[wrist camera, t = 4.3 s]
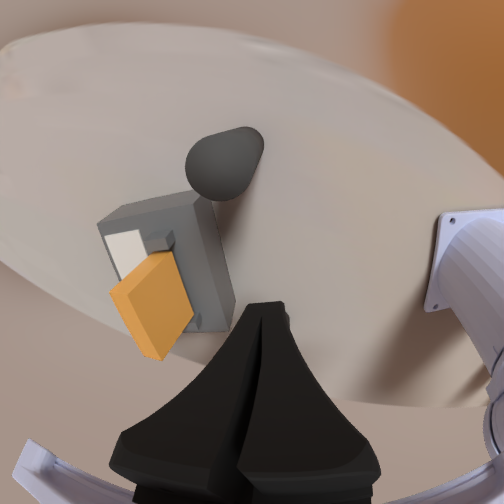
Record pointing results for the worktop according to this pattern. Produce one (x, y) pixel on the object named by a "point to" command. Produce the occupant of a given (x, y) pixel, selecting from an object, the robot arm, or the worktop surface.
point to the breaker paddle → (153, 304)
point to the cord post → (224, 163)
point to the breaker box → (176, 251)
